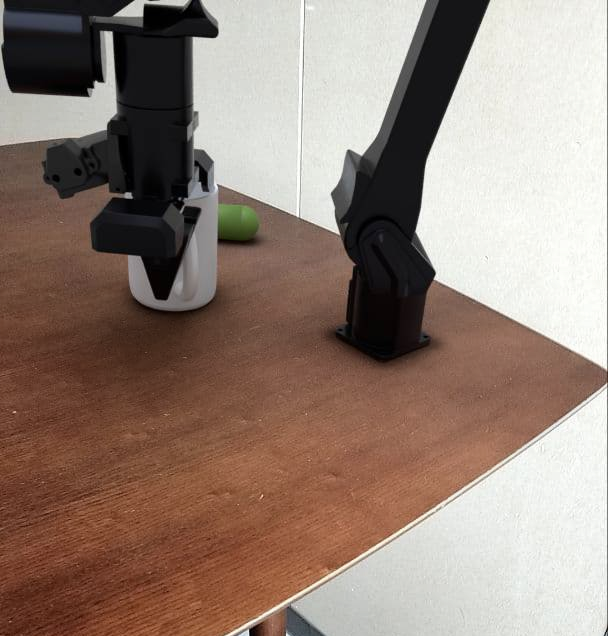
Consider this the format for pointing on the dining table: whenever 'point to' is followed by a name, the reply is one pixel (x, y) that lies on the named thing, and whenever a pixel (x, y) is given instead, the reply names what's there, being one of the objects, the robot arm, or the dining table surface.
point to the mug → (186, 261)
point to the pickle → (236, 222)
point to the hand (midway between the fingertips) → (161, 299)
